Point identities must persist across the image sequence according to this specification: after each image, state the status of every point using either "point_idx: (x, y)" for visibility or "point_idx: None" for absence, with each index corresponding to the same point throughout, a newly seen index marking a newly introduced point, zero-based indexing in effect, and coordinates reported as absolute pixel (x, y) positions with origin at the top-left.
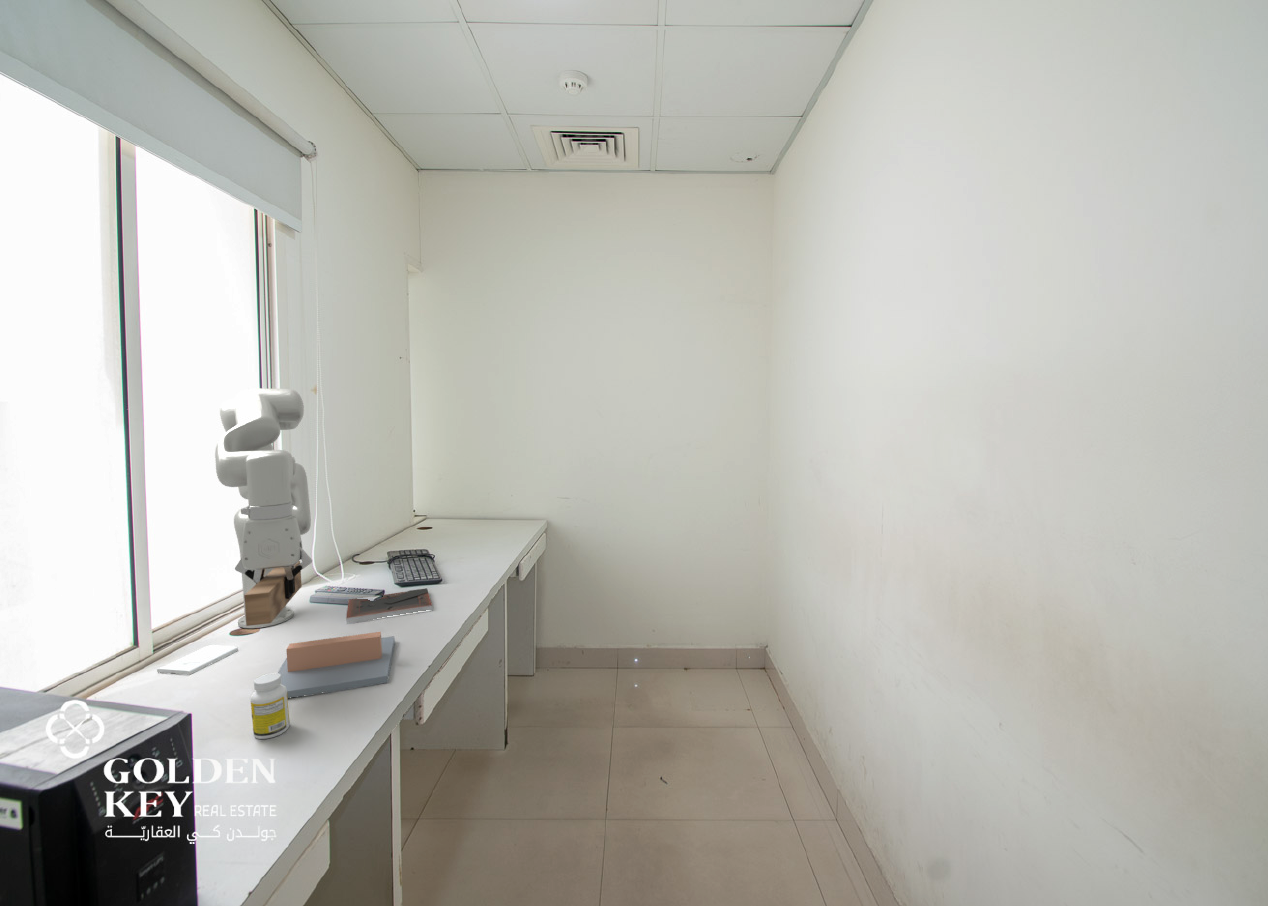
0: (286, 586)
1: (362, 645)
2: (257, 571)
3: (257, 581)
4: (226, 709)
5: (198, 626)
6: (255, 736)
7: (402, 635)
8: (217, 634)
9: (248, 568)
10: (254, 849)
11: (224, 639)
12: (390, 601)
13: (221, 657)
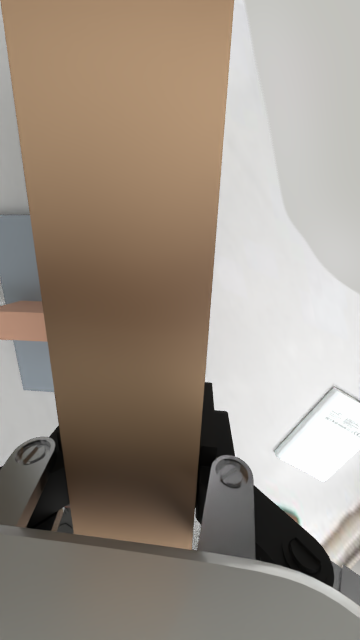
0: None
1: (26, 308)
2: (229, 548)
3: (226, 469)
4: (247, 215)
5: (351, 566)
6: None
7: (26, 406)
8: (317, 525)
9: (325, 590)
10: None
11: (303, 502)
12: (67, 532)
13: (295, 431)
